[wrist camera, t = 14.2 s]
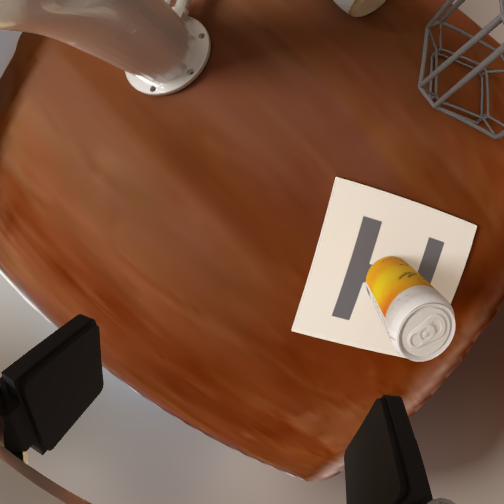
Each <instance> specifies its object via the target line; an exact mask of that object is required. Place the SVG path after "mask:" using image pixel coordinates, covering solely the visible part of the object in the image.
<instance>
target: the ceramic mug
mask: <svg viewBox="0 0 504 504" xmlns="http://www.w3.org/2000/svg"><path fill="white" fill-rule="evenodd" d="M333 1H334V2H335V3H336V4H337V5H338V6H339V7H340V8H341V9H342V10H343V11H345V12H346V13H348V14H349V15H351V16H353V17H362V16H365V15H367V14H369V13H371V12H373V11H374V10H376V9H377V8H379V7H380V6H381V5H382V4H383V3H384V2H385V1H386V0H333Z"/></svg>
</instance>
